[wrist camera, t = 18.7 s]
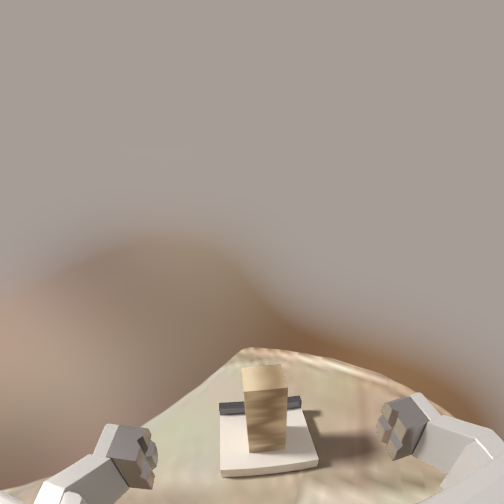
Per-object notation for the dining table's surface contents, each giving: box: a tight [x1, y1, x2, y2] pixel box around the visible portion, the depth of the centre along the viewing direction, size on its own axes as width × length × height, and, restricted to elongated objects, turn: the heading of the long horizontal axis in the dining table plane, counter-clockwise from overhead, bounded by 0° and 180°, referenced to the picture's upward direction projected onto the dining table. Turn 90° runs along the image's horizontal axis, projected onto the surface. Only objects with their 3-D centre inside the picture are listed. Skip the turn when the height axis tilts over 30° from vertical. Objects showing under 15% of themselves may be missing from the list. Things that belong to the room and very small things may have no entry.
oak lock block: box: [242, 364, 288, 453], centre depth 34 cm, size 5×5×12 cm
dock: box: [219, 396, 319, 477], centre depth 37 cm, size 13×13×4 cm
